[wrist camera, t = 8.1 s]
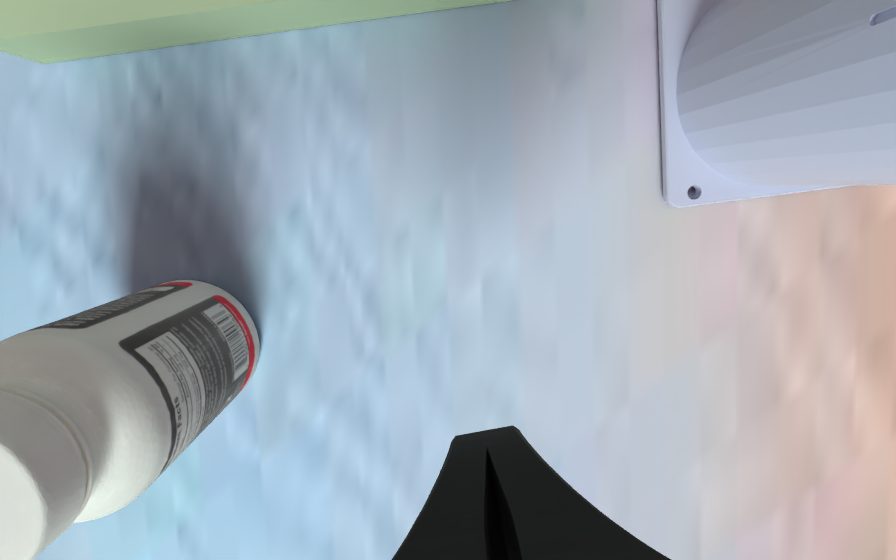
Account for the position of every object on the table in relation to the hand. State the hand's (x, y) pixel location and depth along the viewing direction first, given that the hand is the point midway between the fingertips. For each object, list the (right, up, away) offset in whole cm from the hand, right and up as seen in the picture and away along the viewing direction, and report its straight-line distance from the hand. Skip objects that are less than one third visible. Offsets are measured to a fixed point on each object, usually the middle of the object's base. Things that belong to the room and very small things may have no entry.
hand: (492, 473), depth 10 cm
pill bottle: (-11, +2, +9) cm, 15 cm away
